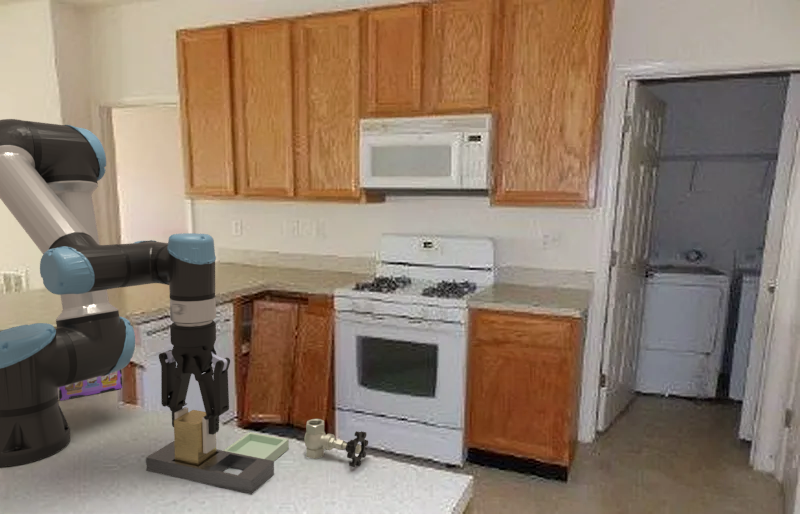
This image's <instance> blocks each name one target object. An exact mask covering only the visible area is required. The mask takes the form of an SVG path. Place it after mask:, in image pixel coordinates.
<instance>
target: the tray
mask: <svg viewBox="0 0 800 514" xmlns="http://www.w3.org/2000/svg"><path fill="white" fill-rule="evenodd" d="M289 441H290V440H289V438H284V437H279V436H273V435H268V434H262V433H257V432H250V431H249V432H247V433H246V434H244V435H243V436H241V437H240V438H239V439H237V440H236V441H234V442H233V443H232V444H230V445H229V446H227V447H226V448H225V449H223V450H222V451H227V452H232V453H237V454H242V455H246V456H251V457H256V458H261V459H266V460H271V461H274V462H275V461H276V460H277V459H279V458H280V456H283V454H284V453H286V452H287V451H288V450H289V448H290V445H289V443H290V442H289Z"/></svg>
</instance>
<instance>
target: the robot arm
mask: <svg viewBox="0 0 800 514" xmlns="http://www.w3.org/2000/svg"><path fill="white" fill-rule="evenodd" d="M105 167H107V157H106V151H105V149H104V146H103V144H102V142H101V140H100V139H99V137H97V135H96V134H95V133H93V132H92V131H90V130H89V129H86V128H84V127H77V126H74V125H71V124H57V123H47V122H40V121H29V120H22V119H17V118H6V119H0V200H1V201H2V202H3V203H2V204H4V205H5V207H6V208H7V209H8V210H9V212H10V213H11V214H12V216H13V217H14V218H15V220H16V221H17V222H18V223H19V225H20V226H21V227H22V229H23V231H25V233H26V234H27V235H28V236H29V238H30V239H31V240H32V242H33V243H34V244H35V245H36V247H37V248H38V249H39V251H40V252H41V254H42V255H41V257H40V261H39V274H40V278H42V283H43V286H44V287H45V289H46V290H47V291H48V292H50V293H51V294H54V295H58V296H60V300H61V308H62V310H61V313H60V314H59V315H58V316H57V317H56V318H55V325H56V328H55V326H54V325H53V324H51V323H47V322H37V323H32V324H22V325H18V326H12V327H9V328H6V329H3V330H0V467H1V468H2V467H12V466H19V465H23V464H29V463H33V462H36V461H40V460H42V459H45V458H48V457H49V456H52V455H54V454H56V453H59V452H60V451H62V450H63V449H64V448H66V447H67V446H68V444H70V442H71V428H70V426H69V424H68V421H67V420H66V416H65V414H64V412H63V410H62V409H61V407H60V405H59V399H58V388H59V387H61V386H65V385H69V384H73V383H76V382H80V381H84V380H87V379H91V378H95V377H99V376H106V375H109V374H110V373H113V372H116V371H119V370H121V371H122V370H123V369H125V367H127V366H128V365H129V364H130V362H131V360H132V359H133V356H134V353H135V350H136V349H135V348H136V334H135V329H134V327H133V325H131V322H130V320H129V319H127V318H126V317H123V316H121V315H120V312H119V308H117V307H115V306H114V305H112V304H111V302H110V301H109V293H108V290H112V289H117V288H118V289H119V288H127V287H129V288H130V287H134V286H142V285H143V286H144V285H151V284H162V285H167V286H169V289H168V291H169V316H170V317H169V318H170V319H169V320H170V321H171V325H170V329H169V330H170V331H169V332H170V344H171V345H172V349H168V350H166V351H164V352H160V353H159V354H158V360H159V362H160V366H161V371H160V372H161V376H160V377H161V380H160V381H161V385H160V386H161V389H160V390H161V391H160V392H161V393H160V394H161V395H160V396H161V406H162V407H168V408H169V410H170V411H171V425H172V427H173V428H174V420H175V419H177V418H179V417H181V416H183V415H184V414H186V413H188V412H189V407H186V406H187V405H188V403H186V399H187V394H188V391H189V385H190V381H191V378H192V375H193V376H194V379H195V381H197V383H198V388H199V392H200V396H201V400H202V403H203V407H204V408H203V409H204V412H206V416H204V417H203V418H202V426H203V453H206V454H207V453H208V452H210V451H211V450H213V449H214V448H216V449H217V433H218V432H219V431H220V416H221V415H223V414H224V413H226V412H228V411H230V410H229V409H230V400H229V398H230V397H229V396H230V395H229V393H230V391H229V367H230V364H231V359H230V358H229V357H225V358H224V357H221V356H219V355H218V354H217V352H216V349H215V343H216V341H217V340H216V339H217V322H215V319H216V318H217V307H216V305H217V304H216V303H217V302H216V259H217V256H216V252H215V251H216V250H215V240H214V238H213V237H212V235H210V234H208V233H195V232H194V233H193V232H192V233H191V232H190V233H189V232H187V233H174V234H170V236H169V237H168V239H167V240H168V242H163V241H156V240H154V239H153V240H152V239H151V240H138V241H134V242H133V243H131V242H130V243H119V244H118V243H117V244H116V243H115V244H102V245H101V244H100V239H99V233H98V232H99V231H98V227H97V220H96V214H95V210H94V202H93V193H94V191H95V190H96V189H97V188H98V187H99V185H98V181H100V180H102V179H103V178H104V176H105V173H106V172H107V171H106V168H105ZM212 364H213V365H212Z"/></svg>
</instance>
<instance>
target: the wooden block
mask: <svg viewBox="0 0 800 514" xmlns="http://www.w3.org/2000/svg"><path fill="white" fill-rule="evenodd" d="M204 416H206V412H205V411H201V410H197V409H192V410H190V411H188V413H186V414H184V415H183V416H181V417H179V418H177V419H175V420H174V427H173V429H174V430H173V431H174V432H173V433H174V435H173V436H174V437H173V438H174V439H173V441H174V443H175V462H179V463H184V464H188V465H193V466H198V467H199V466H200V465H202V464H203V463H205V462H206V461H207V460H209V459H210V458H212V457H213V456H215V455H216V449H217V447H216V448H214V449H213V450H211V451H210V452H208V453H207V454H206V453H203V426H202V418H203V417H204Z"/></svg>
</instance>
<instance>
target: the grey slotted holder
mask: <svg viewBox="0 0 800 514" xmlns="http://www.w3.org/2000/svg"><path fill="white" fill-rule="evenodd" d="M145 467H146V469H145V471H147V472H151V473H155V474H160V475H165V476H170V477H173V478H177V479H182V480H186V481H191V482H196V483H200V484H202V485H203V484H204V485H208V486H213V487H216V488H220V489H221V488H222V489H227V490H230V491H235V492H239V493H244V494H248V495H253V494H254V493H255V492H256V491H257V490H258V489H259V488H260V487H262V486H263V484H265V483H266V482H267V481H268V480H270V479H271V477H273V476H274V475H275V461H271V460H266V459H261V458H256V457H251V456H246V455H242V454H237V453H232V452H227V451H223V450H221V449H217V448H216V455H215V456H213V457H212V458H210V459H209V460H207V461H206V462H205V463H203V464H202V465H200V466H199V467H198V466H193V465H188V464H184V463H179V462H175V443H174V440H173V441H171V442H169V443H168V444H166V445H164V446H162V447H161V448H160V449H158V450H156V451H154V452H152V453H151V454H149V455H148V456H146V457H145ZM229 468H234V469H237V468H238V469H239V470H242V471H241V472H240V473H239V474H234V473H231V472H230V473H229V472H226V470H228V469H229Z"/></svg>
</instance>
